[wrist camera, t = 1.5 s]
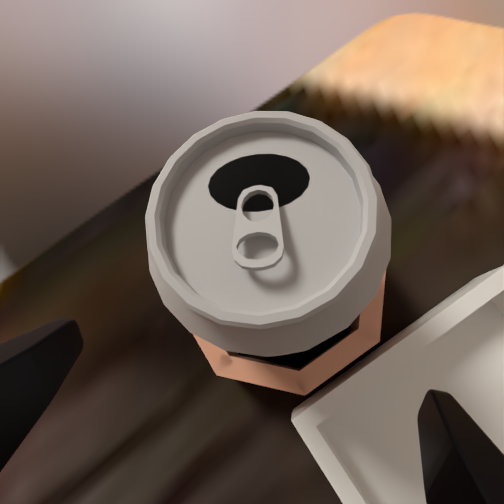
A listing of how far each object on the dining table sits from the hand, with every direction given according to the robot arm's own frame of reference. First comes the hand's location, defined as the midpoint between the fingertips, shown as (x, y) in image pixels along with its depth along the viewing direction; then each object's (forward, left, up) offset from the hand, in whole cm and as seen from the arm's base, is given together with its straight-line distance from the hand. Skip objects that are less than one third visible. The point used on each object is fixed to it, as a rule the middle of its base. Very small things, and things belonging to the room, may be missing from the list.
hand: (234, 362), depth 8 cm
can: (+3, -3, -11) cm, 12 cm away
